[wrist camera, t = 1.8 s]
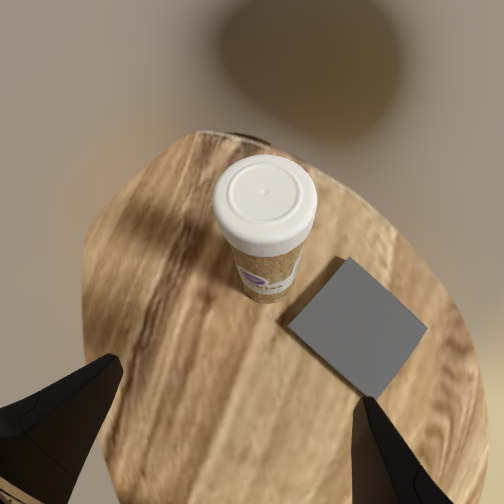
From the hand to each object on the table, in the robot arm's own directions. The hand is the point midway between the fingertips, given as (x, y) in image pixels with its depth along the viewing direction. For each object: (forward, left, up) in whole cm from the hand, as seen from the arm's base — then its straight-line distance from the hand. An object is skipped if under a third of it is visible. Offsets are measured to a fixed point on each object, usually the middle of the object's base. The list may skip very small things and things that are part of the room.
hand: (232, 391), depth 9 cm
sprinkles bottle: (+6, +5, -14) cm, 16 cm away
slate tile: (+8, -4, -13) cm, 16 cm away
